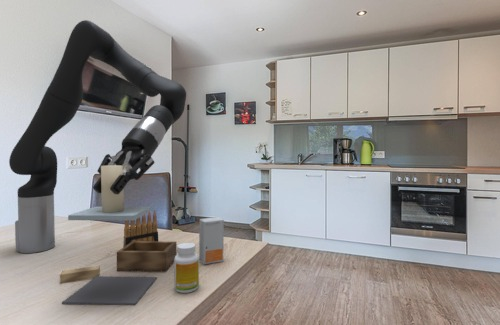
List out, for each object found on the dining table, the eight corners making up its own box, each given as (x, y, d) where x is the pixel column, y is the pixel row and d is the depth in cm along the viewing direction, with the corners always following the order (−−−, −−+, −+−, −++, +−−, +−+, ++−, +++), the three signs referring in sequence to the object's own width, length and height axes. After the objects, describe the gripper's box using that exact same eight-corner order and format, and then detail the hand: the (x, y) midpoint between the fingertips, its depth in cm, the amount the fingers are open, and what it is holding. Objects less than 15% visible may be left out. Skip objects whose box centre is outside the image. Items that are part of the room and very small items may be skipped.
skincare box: (203, 265, 75) (203, 221, 75) (199, 260, 79) (198, 218, 79) (224, 261, 78) (224, 219, 78) (218, 256, 82) (218, 216, 81)
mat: (61, 304, 56) (61, 302, 56) (96, 277, 68) (96, 276, 68) (135, 305, 55) (135, 303, 55) (156, 278, 67) (156, 276, 67)
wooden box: (116, 271, 72) (116, 252, 71) (132, 258, 81) (132, 241, 80) (166, 271, 71) (166, 252, 71) (176, 258, 80) (176, 241, 80)
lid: (68, 220, 57) (67, 166, 56) (95, 210, 66) (94, 165, 66) (133, 220, 56) (132, 166, 56) (151, 210, 66) (151, 164, 66)
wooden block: (60, 284, 65) (59, 274, 65) (62, 280, 67) (62, 270, 67) (98, 278, 68) (98, 269, 68) (99, 274, 70) (99, 265, 70)
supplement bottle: (202, 289, 62) (202, 246, 62) (179, 296, 59) (178, 251, 59) (193, 280, 66) (193, 240, 66) (171, 286, 63) (171, 244, 63)
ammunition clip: (125, 254, 84) (124, 215, 84) (123, 252, 85) (122, 214, 85) (158, 246, 91) (158, 210, 91) (156, 245, 92) (156, 209, 92)
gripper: (115, 127, 70) (69, 179, 59) (160, 125, 65) (120, 181, 54) (131, 149, 75) (92, 200, 64) (174, 148, 70) (140, 203, 59)
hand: (105, 191), depth 59 cm, fingers closed on lid, 4 cm apart
